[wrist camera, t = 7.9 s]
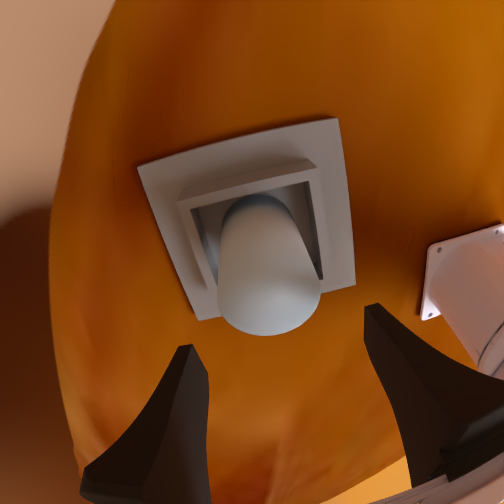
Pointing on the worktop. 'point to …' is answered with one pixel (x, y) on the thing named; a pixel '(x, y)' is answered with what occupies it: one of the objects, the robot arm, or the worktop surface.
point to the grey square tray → (246, 184)
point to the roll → (264, 269)
